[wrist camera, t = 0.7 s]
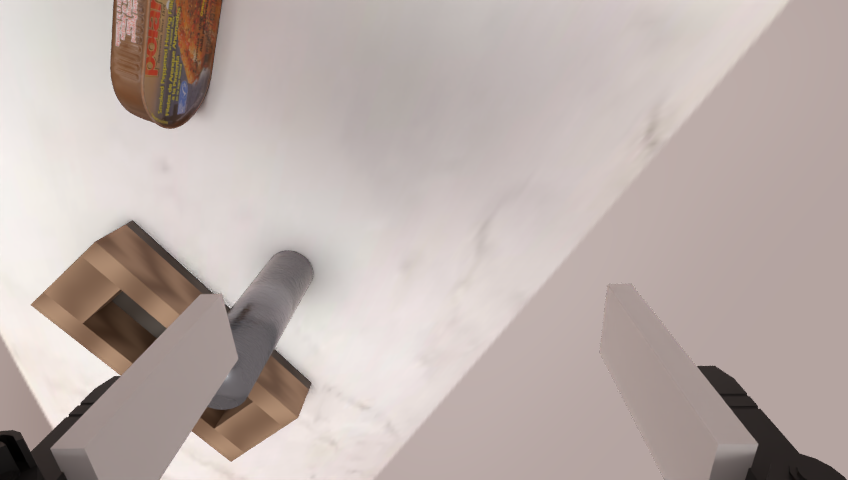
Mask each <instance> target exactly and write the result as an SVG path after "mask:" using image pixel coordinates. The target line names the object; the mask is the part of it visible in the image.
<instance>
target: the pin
mask: <svg viewBox="0 0 848 480" xmlns="http://www.w3.org/2000/svg"><path fill="white" fill-rule="evenodd" d="M312 279H313V268H312V266H311V264H310V262H309V261H308V260H307V259H306V258H305V257H304V256H303V255H301V254H299V253H297V252H294V251H282V252H279V253H277V254H275V255H274V256H273V257H272V258H271V259H270V261H269V262H268V263H267V264H266V266H265V267H264V268H263V269H262V271H261V272H260V273H259V274H258V276H257V277H256V278H255V279H254V281H253V282H252V283H251V284H250V286H249V287H248V288H247V289H246V291H245V292H244V293H243V294H242V296H241V297H240V298H239V299H238V301H237V302H236V303H235V304H234V306H233V307H232V308H231V309H230V311H229V312H228V313H227V316H228V320H229V324H230V328H231V332H232V335H233V339H234V343H235V347H236V351H237V355H238V360H237V362H236V363H235V365H234V366H233V368H232V369H231V371H230V372H229V374H228V375H227V377H226V379H225V380H224V382H223V383H222V385H221V386H220V388H219V389H218V391H217V392H216V394H215V395H214V397H213V398H212V400H211V402H210V403H209V405H208V406H207V407H209V408H213V409H219V410H227V409H232V408H235V407H237V406H239V405H241V404H242V403H243V402H244V401H245V400H246V399H247V397H248V395H249V393H250V392H251V390H252V388H253V386H254V384H255V383H256V381H257V379H258V377H259V375H260V373H261V372H262V370H263V368H264V366H265V364H266V363H267V361H268V359H269V357H270V355H271V354H272V352H273V350H274V348H275V346H276V345H277V343H278V341H279V339H280V337H281V335H282V334H283V332H284V330H285V328H286V326H287V325H288V323H289V321H290V319H291V317H292V316H293V314H294V312H295V310H296V308H297V307H298V305H299V303H300V301H301V299H302V297H303V296H304V294H305V292H306V290H307V288H308V287H309V285H310V283H311V281H312Z"/></svg>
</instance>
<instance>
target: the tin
mask: <svg viewBox="0 0 848 480" xmlns="http://www.w3.org/2000/svg"><path fill="white" fill-rule="evenodd" d="M221 3H222V0H114V4H113V24H112V42H111V67H110V70H111V80H112V84H113V88H114V91H115V94H116V96H117V98H118V100H119V101H120V103H121V104H122V105H123V107H124V108H125V109H126V110H128V111H129V112H130V113H132V114H134V115H136V116H138V117H140V118H142V119H145V120H148V121H151V122H153V123H156V124H157V125H159V126H161V127H163V128H168V129H172V128H177V127H179V126H181V125H183V124H184V123H186V122H187V121H188V120H189V119H190V118H191V117H192V116H193V115H194V114H195V113H196V111H197V110H198V108H199V107H200V105H201V104H202V102H203V100H204V98H205V95H206V93H207V90H208V87H209V83H210V79H211V74H212V67H213V60H214V53H215V46H216V38H217V31H218V24H219V17H220V11H221Z"/></svg>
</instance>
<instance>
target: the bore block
mask: <svg viewBox="0 0 848 480" xmlns="http://www.w3.org/2000/svg"><path fill="white" fill-rule="evenodd" d="M200 294H213V293H212V292H211V291H209V290H208V289H207V288H206V287H205V286H204V285H203V284H202V283H201V282H200V281H198V280H197V279H196V278H195V277H194V276H193V275H192V274H191V273H190V272H188V271H187V270H186V269H185V268H184V267H183V266H182V265H181V264H180V263H179V262H177V261H176V260H175V259H174V258H173V257H172V256H171V255H170V254H169V253H168V252H166V251H165V250H164V249H163V248H162V247H161V246H160V245H159V244H158V243H157V242H155V241H154V240H153V239H152V238H151V237H150V236H149V235H148V234H147V233H146V232H144V231H143V230H142V229H141V228H140V227H139V226H138V225H137V224H136V223H135V222H133V221H131V222H129V223H127V224H126V225H124V226H122V227H120V228H119V229H117V230H115V231H113V232H112V233H110V234H108V235H106V236H105V237H103V238H101V239H99V240H97V241H96V242H95V243H94V244H92V245H91V246H90V247H89V248H88V249H87V250H86V251H85V252H84V253H83V254H82V255H81V256H80V257H79V258H78V259H77V260H76V261H75V262H74V263H73V264H72V265H71V266H70V267H69V268H68V269H67V270H66V271H65V272H64V273H63V274H62V275H61V276H60V277H59V278H58V279H57V280H56V281H55V282H54V283H53V284H52V285H50V286H49V287H48V288H47V289H46V290H45V291H44V292H43V293H42V294H41V295H40V296H39V297H38V298H37V299H36V300H35V301H34V302H33V303H32V304H31V306H33V307H34V308H35V309H37V310H38V311H39V312H40V313H42V314H43V315H44V316H45V317H47V318H48V319H49V320H51V321H52V322H53V323H54V324H56V325H57V326H58V327H59V328H61V329H62V330H63V331H65V332H66V333H67V334H68V335H70V336H71V337H72V338H74V339H75V340H76V341H77V342H79V343H80V344H81V345H82V346H84V347H85V348H86V349H88V350H89V351H90V352H91V353H93V354H94V355H95V356H97V357H98V358H99V359H100V360H102V361H103V362H104V363H105V364H107V365H108V366H109V367H111V368H112V369H113V370H114V371H116V372H117V373H118V374H120V375H122V374H123V373H124V372H125V371H126V370H127V369H128V368H129V367H130V366H131V365H132V364H133V363H134V362H135V361H136V360H137V359H138V358H139V357H140V356H141V355H142V354H143V353H144V352H145V351H146V350H147V349H148V348H149V347H150V346H151V345H152V344H153V343H154V341H155V340H156V339H157V338H158V337H159V336H160V335H161V334H162V333H163V332H164V331H165V330H166V329H167V328H168V327H169V326H170V325H171V324H172V323H173V322H174V321H175V320H176V319H177V318H178V317H179V316H180V315H181V314H182V313H183V312H184V311H185V310H186V309H187V308H188V307H189V306H190V305H191V304H192V302H193V301H194V300H195V299H196V298H197V297H198V296H199V295H200ZM225 308H226V312H227V313H228V312H229V311H230V309H229V308H228V307H227V306H226V305H225ZM310 385H311V382H310V381H308V380H307V379H306V378H305V377H304V376H303V375H302V374H301V373H300V372H299V371H297V370H296V369H295V368H294V367H293V366H292V365H291V364H290V363H289V362H288V361H286V360H285V359H284V358H283V357H282V356H281V355H280V354H279V353H278V352H277V351H275V350H273V352H272V354H271V355H270V357H269V359H268V361H267V363H266V364H265V366H264V368H263V370H262V372H261V373H260V375H259V377H258V379H257V381H256V383H255V384H254V386H253V388H252V390H251V392H250V393H249V395H248V397H247V399H246V400H245V401H244V402H243V403H242V404H241V405H239V406H237V407H235V408H232V409H227V410H219V409H213V408H209V407H207V408H206V409H205V411H204V412H203V414H202V415H201V417H200V418H199V420H198V421H197V423H196V425H195V426H194V428H193V429H192V432H194V433H195V434H196V435H197V436H199V437H200V438H201V439H203V440H204V441H205V442H206V443H208V444H209V445H210V446H211V447H213V448H214V449H215V450H217V451H218V452H219V453H220V454H222V455H223V456H224V457H225V458H227V459H228V460H229V461H233V460H234V459H236V458H237V457H239V456H241V455H242V454H244V453H245V452H247V451H248V450H250V449H251V448H253V447H254V446H256V445H257V444H259V443H260V442H262V441H263V440H265V439H266V438H268V437H269V436H271V435H272V434H274V433H275V432H277V431H278V430H280V429H282V428H283V427H285V426H286V425H288V424H289V423H291V422H292V421H294V420H295V419H297V418H298V416H299V414H300V411H301V409H302V406H303V404H304V401H305V398H306V396H307V393H308V391H309V388H310Z"/></svg>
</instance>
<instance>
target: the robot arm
mask: <svg viewBox="0 0 848 480" xmlns="http://www.w3.org/2000/svg"><path fill="white" fill-rule="evenodd" d="M599 353H600V355H601V357H602V359H603V361H604V363H605V365H606V366H607V369H608V371H609V373H610V374H611V377H612V379H613V380H614V382H615V384H616V386H617V388H618V390H619V392H620V394H621V396H622V398H623V400H624V402H625V404H626V406H627V408H628V410H629V412H630V414H631V416H632V418H633V420H634V422H635V424H636V426H637V428H638V429H639V431H640V433H641V435H642V437H643V439H644V441H645V443H646V445H647V447H648V449H649V451H650V453H651V455H652V457H653V459H654V461H655V463H656V465H657V467H658V469H659V471H660V473H661V475H662V477H663V479H664V480H846V478H845V477H844V476H842V475H841V474H840V473H838V472H837V471H836V470H835V469H833V468H832V467H831V466H829V465H827V464H825V463H823V462H821V461H819V460H817V459H815V458H812V457H808V456H805V455H802V454H799V453H798V451H797V450H796V449H795V448H794V447H793V446H792V444H791V443H790V442H789V441H788V440H787V439H786V438H785V436H784V435H783V434H782V433H781V432H780V431H779V430H778V428H777V427H776V426H775V425H774V424H773V423H772V422H771V420H770V419H769V418H768V417H767V416H766V415H765V414H764V413H763V411H762V410H761V409H758V406H757V405H756V403H755V402H754V401H753V400H752V399H751V398H750V397H749V396H747V393H746V392H745V391H744V390H743V388H742V387H741V386H740V385H739V384H738V383H737V382H736V380H735V379H734V378H732V377H731V376H729V375H728V374H726V373H724V372H723V371H722V370H720V369H719V368H717V367H716V366H696V365H695V363H694V362H693V361H692V360H691V358H690V357H689V356H688V355H687V353H686V352H685V351H684V350H683V348H682V347H681V346H680V344H679V343H678V342H677V341H676V339H675V338H674V337H673V336H672V334H671V333H670V332H669V331H668V329H667V328H666V327H665V326H664V324H663V323H662V322H661V320H660V319H659V318H658V317H657V315H655V313H654V312H653V311H652V309H651V308H650V307H649V305H648V304H647V303H646V302H645V300H644V299H643V298H642V297H641V295H640V294H639V293H638V291H637V290H636V289H635V288H634V286H633V285H632V284H608V285H607V293H606V301H605V310H604V318H603V326H602V335H601V343H600V351H599ZM237 360H238V355H237V351H236V347H235V343H234V339H233V335H232V332H231V328H230V324H229V320H228V316H227V312H226V308H225V304H224V300H223V296H222V294H200V295H199V296H198V297H197V298H196V299H195V300H194V301H193V302H192V304H191V305H190V306H189V307H188V308H187V309H186V310H185V311H184V312H183V313H182V314H181V315H180V316H179V317H178V318H177V319H176V320H175V321H174V322H173V323H172V324H171V325H170V326H169V327H168V328H167V329H166V330H165V331H164V332H163V333H162V334H161V335H160V336H159V337H158V338H157V339H156V340H155V341H154V343H153V344H152V345H151V346H150V347H149V348H148V349H147V350H146V351H145V352H144V353H143V354H142V355H141V356H140V357H139V358H138V359H137V360H136V361H135V362H134V363H133V364H132V365H131V366H130V367H129V368H128V369H127V370H126V371H125V372H124V373H123V374H122V375H121V376H114V377H112V378H111V379H109V380H108V381H106V382H105V383H103V384H101V385H100V386H98V387H97V388H95V389H94V390H93V391H92V392H91V393H90V394H89V395H88V396H87V397H86V398H85V399H84V400H83V401H82V402H81V405H80V406H77V407H76V408H75V409H74V410H73V411H72V412H71V413H70V414H69V417H66V418H65V419H64V420H63V421H62V422H61V423H60V424H59V425H58V426H57V427H56V428H55V429H54V430H53V431H52V432H51V433H50V434H49V435H47V437H45V439H44V440H42V441H41V442H40V444H38V445H37V446H36V447H35V448H34V449H33V450H32V451H31V452H30V450H29V448H28V446H27V444H26V442H25V440H24V438H23V436H22V435H21V433H20V432H17V431H13V430H11V431H0V480H160V478H161V477H162V475H163V474H164V472H165V471H166V469H167V467H168V466H169V464H170V463H171V461H172V460H173V458H174V457H175V455H176V454H177V452H178V451H179V449H180V448H181V446H182V444H183V443H184V441H185V440H186V438H187V437H188V435H189V434H190V432H191V431H192V429H193V428H194V426H195V425H196V423H197V421H198V420H199V418H200V417H201V415H202V414H203V412H204V411H205V409H206V408H207V406H208V405H209V403H210V402H211V400H212V398H213V397H214V395H215V394H216V392H217V391H218V389H219V388H220V386H221V385H222V383H223V382H224V380H225V379H226V377H227V375H228V374H229V372H230V371H231V369H232V368H233V366H234V365H235V363H236V362H237Z"/></svg>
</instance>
